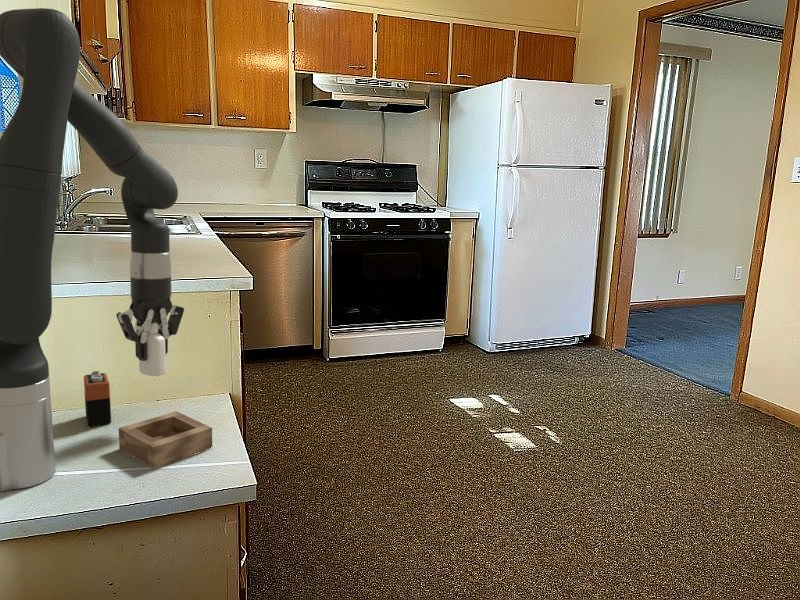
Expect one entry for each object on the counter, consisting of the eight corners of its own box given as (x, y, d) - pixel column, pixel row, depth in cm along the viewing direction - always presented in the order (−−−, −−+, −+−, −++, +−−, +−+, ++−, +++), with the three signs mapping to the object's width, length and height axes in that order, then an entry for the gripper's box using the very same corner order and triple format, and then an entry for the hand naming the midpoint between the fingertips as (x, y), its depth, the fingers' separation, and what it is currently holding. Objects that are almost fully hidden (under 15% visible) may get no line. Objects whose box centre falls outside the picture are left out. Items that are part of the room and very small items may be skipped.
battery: (87, 427, 125) (85, 380, 123) (85, 415, 130) (83, 370, 128) (111, 424, 127) (109, 377, 125) (108, 412, 133) (106, 368, 131)
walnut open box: (154, 471, 109) (153, 447, 108) (119, 450, 116) (118, 428, 115) (212, 449, 118) (212, 427, 117) (176, 432, 125) (176, 411, 124)
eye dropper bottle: (160, 368, 129) (159, 312, 127) (167, 375, 125) (166, 317, 123) (138, 370, 127) (136, 313, 125) (144, 378, 122) (143, 319, 120)
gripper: (126, 279, 114) (128, 369, 117) (193, 274, 125) (193, 355, 129) (106, 274, 119) (108, 360, 122) (172, 269, 130) (172, 348, 133)
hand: (152, 357), depth 125 cm, fingers closed on eye dropper bottle, 3 cm apart
